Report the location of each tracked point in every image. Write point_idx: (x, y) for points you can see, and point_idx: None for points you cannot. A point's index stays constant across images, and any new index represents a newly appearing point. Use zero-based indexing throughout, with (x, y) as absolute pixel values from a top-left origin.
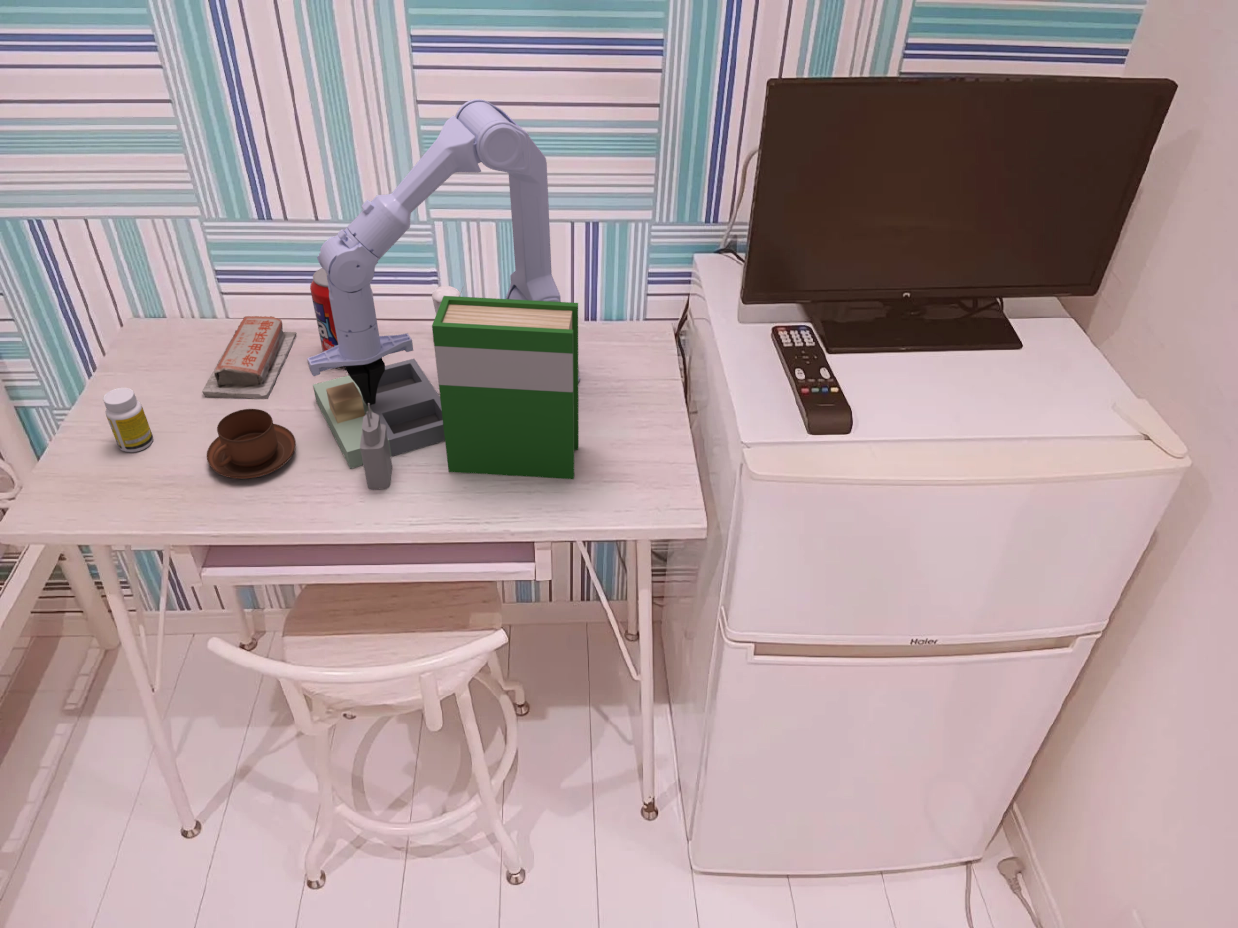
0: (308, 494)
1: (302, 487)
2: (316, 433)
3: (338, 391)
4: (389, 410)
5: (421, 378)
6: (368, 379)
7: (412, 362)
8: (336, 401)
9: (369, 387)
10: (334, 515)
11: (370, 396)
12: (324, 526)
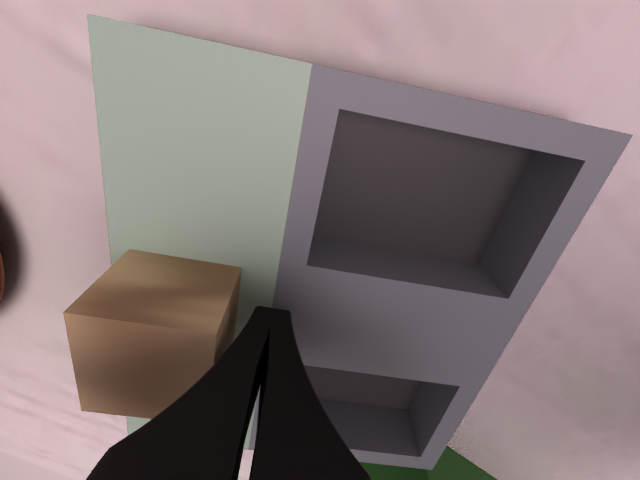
0: (41, 401)
1: (29, 379)
2: (100, 223)
3: (122, 358)
4: (314, 364)
5: (521, 282)
6: (249, 478)
7: (596, 163)
8: (95, 407)
9: (258, 421)
10: (86, 460)
11: (260, 387)
12: (62, 470)
